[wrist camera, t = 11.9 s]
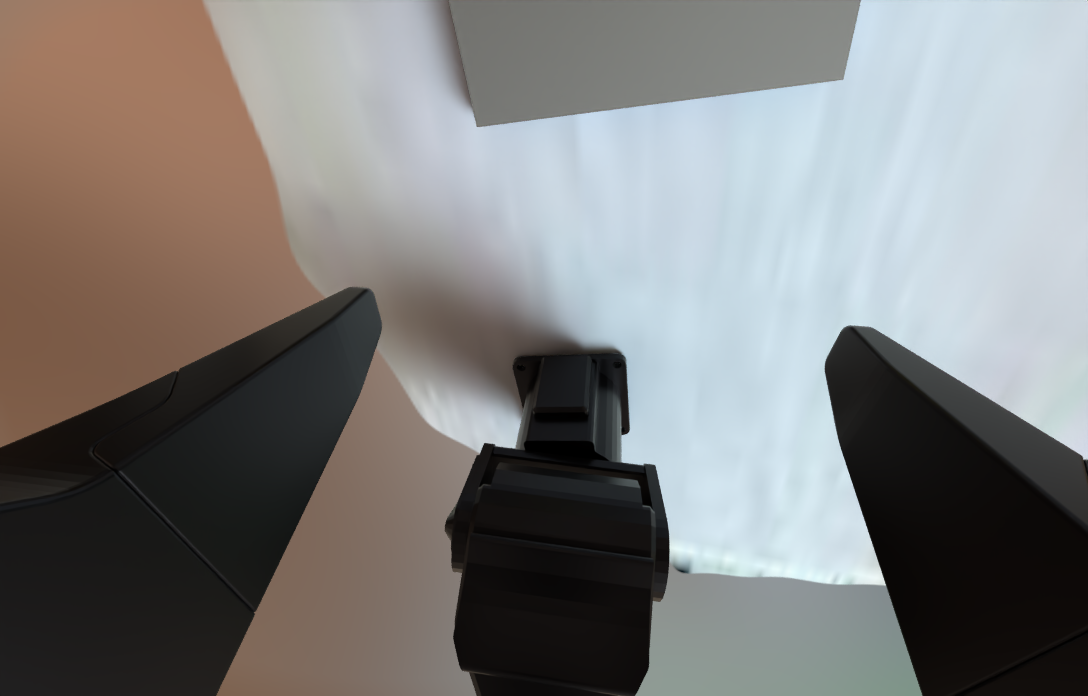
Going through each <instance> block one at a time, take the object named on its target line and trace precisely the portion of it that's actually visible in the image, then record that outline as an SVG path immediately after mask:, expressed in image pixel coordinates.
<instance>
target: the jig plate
mask: <svg viewBox="0 0 1088 696" xmlns="http://www.w3.org/2000/svg"><path fill="white" fill-rule="evenodd" d="M448 1H449V5H450V10H451V14H452V18H453V23H454V27H455V32H456V36H457V41H458V45H459V50H460V54H461V59H462V63H463V68H464V72H465V76H466V81H467V85H468V90H469V94H470V99H471V103H472V108H473V112H474V117H475V121H476V125H477V127H482V126H490V125H498V124H505V123H513V122H521V121H529V120H536V119H544V118H552V117H559V116H567V115H575V114H582V113H590V112H598V111H606V110H613V109H621V108H629V107H636V106H644V105H652V104H660V103H667V102H675V101H683V100H690V99H698V98H706V97H713V96H721V95H729V94H737V93H744V92H752V91H760V90H767V89H775V88H783V87H790V86H798V85H806V84H814V83H821V82H829V81H837V80H843V78H844V74H845V69H846V65H847V60H848V56H849V51H850V47H851V42H852V38H853V33H854V29H855V24H856V20H857V15H858V11H859V6H860V2H861V0H448Z"/></svg>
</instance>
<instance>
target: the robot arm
mask: <svg viewBox="0 0 1088 696" xmlns="http://www.w3.org/2000/svg"><path fill="white" fill-rule="evenodd" d="M381 329H382V322H381V318H380V314H379V311H378V307H377V303H376V299H375V296H374V293H373V292H372V290H370V289H369V288H360V287H349V288H346V289H344V290H342V291H340V292H338V293H336V294H334V295H332V296H330V297H328V298H326V299H324V300H321V301H319V302H317V303H315V304H313V305H311V306H309V307H307V308H305V309H303V310H301V311H299V312H297V313H295V314H292V315H290V316H289V317H286V318H284V319H282V320H280V321H278V322H276V323H274V324H272V325H270V326H268V327H266V328H263V329H261V330H259V331H257V332H255V333H253V334H251V335H249V336H247V337H245V338H243V339H241V340H238V341H236V342H234V343H232V344H230V345H228V346H226V347H224V348H222V349H220V350H218V351H216V352H214V353H211V354H210V355H207V356H205V357H203V358H201V359H199V360H197V361H195V362H193V363H191V364H189V365H186V366H184V367H182V368H180V369H179V372H178V371H174V372H171V373H170V374H167V375H165V376H163V377H161V378H159V379H157V380H155V381H153V382H151V383H149V384H146V385H144V386H142V387H140V388H138V389H136V390H133V391H131V392H129V393H127V394H125V395H123V396H121V397H118V398H116V399H114V400H112V401H109V402H107V403H104V404H102V405H100V406H97V407H95V408H93V409H91V410H88V411H86V412H84V413H81V414H79V415H77V416H74V417H72V418H70V419H67V420H65V421H62V422H60V423H58V424H55V425H53V426H50V427H48V428H46V429H44V430H41V431H39V432H36V433H34V434H32V435H29V436H27V437H24V438H22V439H20V440H17V441H15V442H12V443H10V444H8V445H5V446H3V447H1V448H0V696H216V695H217V693H218V691H219V688H220V686H221V684H222V682H223V680H224V678H225V676H226V674H227V672H228V670H229V667H230V665H231V663H232V661H233V659H234V657H235V655H236V653H237V651H238V649H239V647H240V645H241V643H242V640H243V638H244V636H245V634H246V632H247V630H248V628H249V626H250V623H251V622H252V620H253V617H254V615H255V613H254V612H255V611H256V610H257V608H258V606H259V604H260V602H261V600H262V598H263V596H264V594H265V592H266V590H267V587H268V585H269V583H270V581H271V579H272V577H273V575H274V573H275V571H276V569H277V567H278V565H279V562H280V560H281V558H282V556H283V554H284V552H285V550H286V548H287V546H288V544H289V541H290V539H291V537H292V535H293V533H294V531H295V529H296V527H297V525H298V523H299V520H300V519H301V516H302V514H303V512H304V510H305V508H306V506H307V504H308V502H309V500H310V498H311V495H312V494H313V491H314V489H315V487H316V485H317V483H318V481H319V479H320V477H321V475H322V473H323V471H324V468H325V466H326V464H327V462H328V460H329V458H330V456H331V454H332V452H333V450H334V448H335V445H336V443H337V441H338V439H339V437H340V435H341V433H342V431H343V429H344V427H345V425H346V423H347V420H348V418H349V416H350V414H351V412H352V410H353V408H354V406H355V403H356V401H357V399H358V397H359V395H360V392H361V390H362V387H363V384H364V381H365V378H366V376H367V373H368V369H369V367H370V363H371V361H372V358H373V355H374V352H375V349H376V346H377V343H378V340H379V337H380V334H381ZM614 362H620V363H618V364H616V363H614ZM520 364H521V365H524V366H520ZM513 371H514V375H515V378H516V382H517V386H518V390H519V394H520V398H521V402H522V406H523V414H522V419H521V424H520V429H519V433H518V438H517V443H516V448H515V449H513V448H505V447H498V446H495V444H488V443H484V445H483V448H482V450H481V453H480V455H477V456H476V459H475V461H474V464H473V465H472V469H471V471H470V473H469V476H468V478H467V481H466V483H465V486H464V488H463V490H462V493H461V495H460V498H459V500H458V502H457V504H456V506H455V507H454V509H453V510H452V512H451V513H450V515H449V516H448V518H447V520H446V524H445V532H446V534H447V536H448V537H449V539H450V540H451V551H452V559H451V563H452V569H453V572H460V573H462V577H461V584H460V590H459V596H458V603H457V610H456V616H455V630H454V636H453V639H454V644H455V649H456V653H457V657H458V662H459V665H460V668H461V670H462V671H467V672H469V673H470V676H471V679H472V682H473V685H474V688H475V691H476V695H477V696H635V695H636V693H637V691H638V689H639V687H640V685H641V683H642V681H643V679H644V677H645V675H646V673H647V671H648V668H649V647H650V633H651V618H652V617H651V616H652V603H653V601H658V602H660V601H661V600H662V599H663V596H664V593H665V589H666V585H667V578H668V570H669V530H668V523H667V517H666V513H665V508H664V503H663V499H662V494H661V489H660V485H659V480H658V475H657V471H656V466H655V465H651V464H644V465H637V464H629V463H621V435H625V434H627V433H628V432H629V430H630V424H629V405H628V386H627V367H626V358H625V357H624V356H623V355H621V354H588V355H558V356H528V357H517V358H516V359H515V360H514V363H513ZM825 375H826V380H827V385H828V390H829V396H830V401H831V406H832V411H833V416H834V421H835V426H836V431H837V435H838V440H839V443H840V447H841V450H842V453H843V456H844V459H845V462H846V465H847V468H848V471H849V474H850V477H851V480H852V483H853V487H854V490H855V493H856V496H857V499H858V502H859V505H860V508H861V511H862V514H863V517H864V520H865V523H866V526H867V529H868V532H869V535H870V538H871V541H872V544H873V547H874V550H875V553H876V556H877V559H878V562H879V565H880V568H881V571H882V574H883V577H884V580H885V584H886V587H887V589H888V592H889V596H890V599H891V602H892V605H893V608H894V611H895V614H896V617H897V620H898V623H899V626H900V629H901V632H902V635H903V638H904V641H905V644H906V647H907V650H908V653H909V656H910V659H911V662H912V665H913V668H914V671H915V674H916V677H917V680H918V684H919V687H920V690H921V692H922V696H1088V460H1083V457H1082V456H1081V455H1080V454H1078V453H1077V452H1075V451H1073V450H1072V449H1070V448H1069V447H1067V446H1065V445H1064V444H1062V443H1060V442H1059V441H1057V440H1055V439H1054V438H1052V437H1050V436H1049V435H1047V434H1046V433H1044V432H1042V431H1041V430H1039V429H1037V428H1036V427H1034V426H1032V425H1031V424H1029V423H1028V422H1026V421H1024V420H1023V419H1021V418H1019V417H1018V416H1016V415H1014V414H1013V413H1011V412H1010V411H1008V410H1006V409H1005V408H1003V407H1001V406H1000V405H998V404H997V403H995V402H993V401H992V400H990V399H988V398H987V397H985V396H983V395H982V394H980V393H979V392H977V391H975V390H974V389H972V388H970V387H969V386H967V385H965V384H964V383H962V382H961V381H959V380H957V379H956V378H954V377H952V376H951V375H949V374H947V373H946V372H944V371H943V370H941V369H939V368H938V367H936V366H934V365H933V364H931V363H929V362H928V361H926V360H925V359H923V358H921V357H920V356H918V355H916V354H915V353H913V352H911V351H910V350H908V349H907V348H905V347H903V346H902V345H900V344H898V343H897V342H895V341H893V340H892V339H890V338H889V337H887V336H885V335H884V334H882V333H880V332H879V331H877V330H875V329H874V328H871V327H865V326H851V325H850V326H846V327H844V328H843V329H842V331H841V332H840V334H839V336H838V338H837V340H836V341H835V343H834V345H833V347H832V349H831V351H830V353H829V355H828V356H827V359H826V362H825ZM621 427H622V428H621Z"/></svg>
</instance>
